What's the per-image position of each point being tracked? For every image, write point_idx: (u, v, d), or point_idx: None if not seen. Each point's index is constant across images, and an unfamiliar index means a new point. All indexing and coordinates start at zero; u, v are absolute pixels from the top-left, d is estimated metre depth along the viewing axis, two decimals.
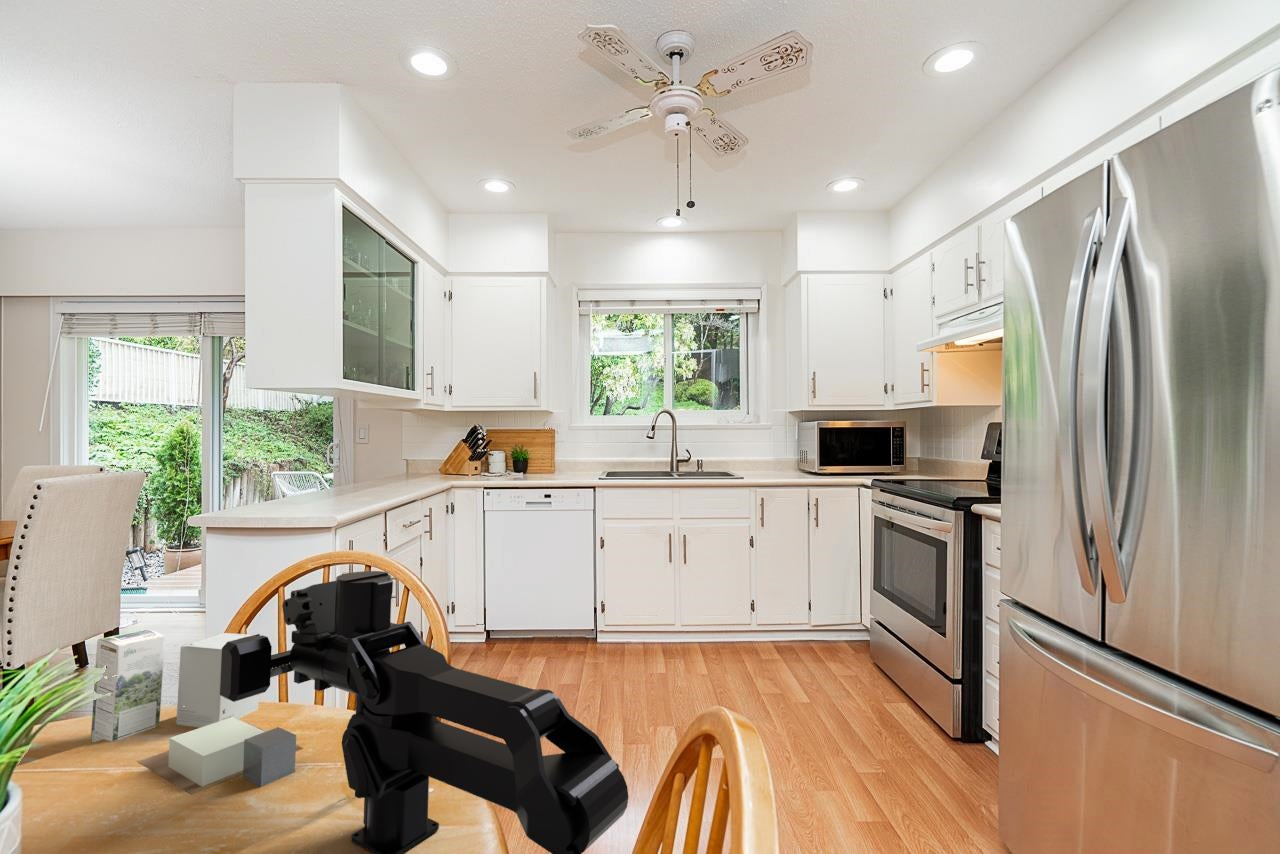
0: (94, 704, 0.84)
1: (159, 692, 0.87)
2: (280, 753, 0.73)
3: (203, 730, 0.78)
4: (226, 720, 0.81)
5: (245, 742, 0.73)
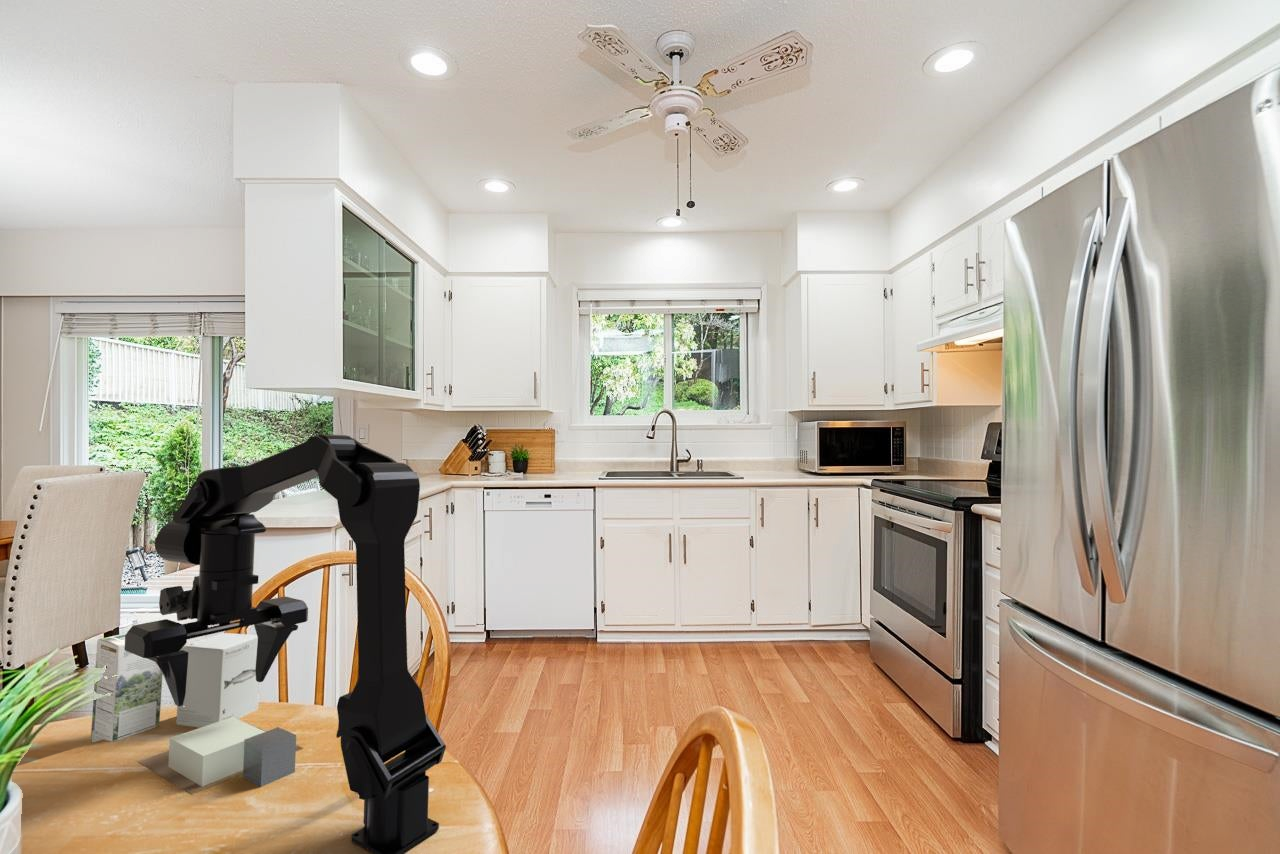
0: (94, 704, 0.84)
1: (159, 692, 0.87)
2: (280, 753, 0.73)
3: (203, 730, 0.78)
4: (226, 720, 0.81)
5: (245, 742, 0.73)
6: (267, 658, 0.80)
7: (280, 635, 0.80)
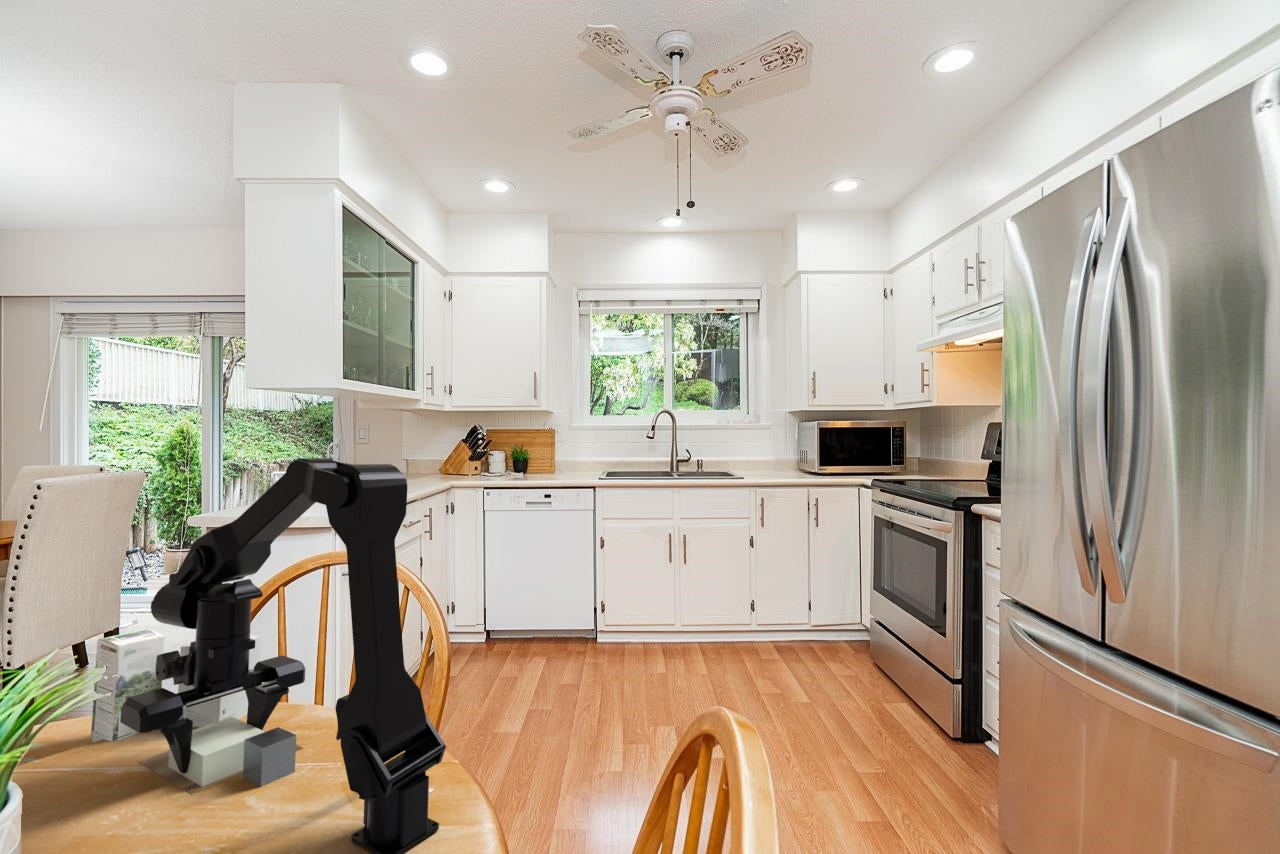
0: (94, 704, 0.84)
1: None
2: (280, 753, 0.73)
3: (203, 730, 0.78)
4: (226, 720, 0.81)
5: (245, 742, 0.73)
6: (257, 724, 0.79)
7: (271, 700, 0.79)
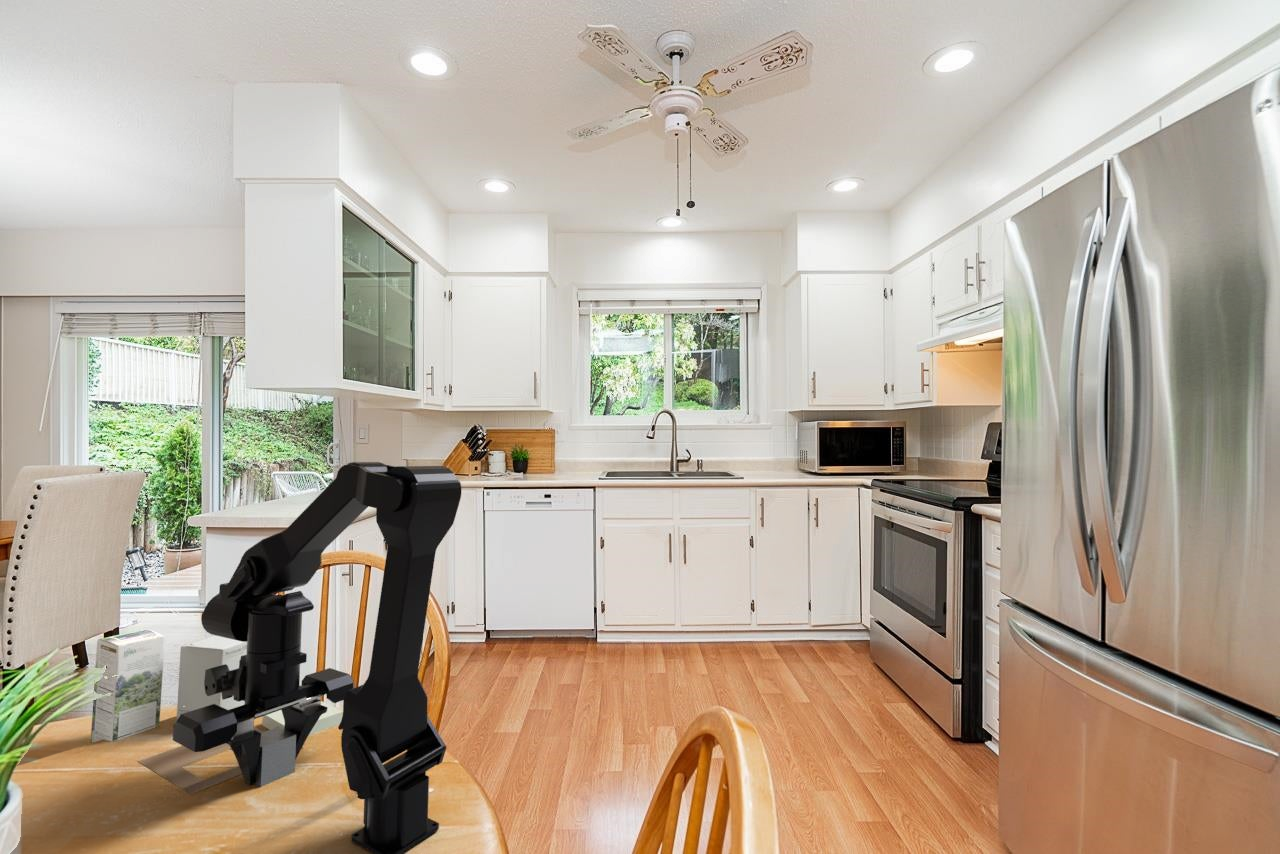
0: (94, 704, 0.84)
1: (159, 692, 0.87)
2: (280, 753, 0.73)
3: None
4: None
5: None
6: None
7: (309, 720, 0.76)
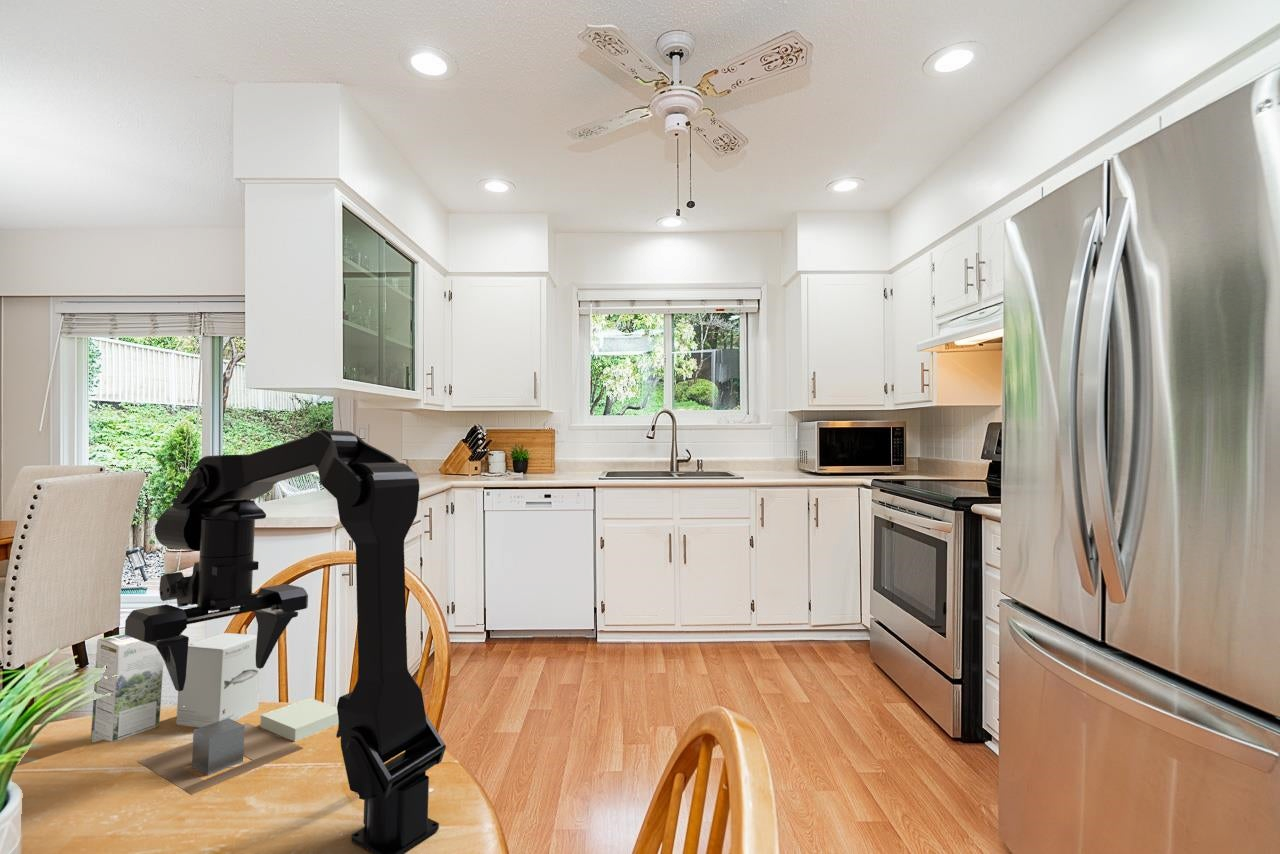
0: (94, 704, 0.84)
1: (159, 692, 0.87)
2: (228, 743, 0.76)
3: (288, 708, 0.89)
4: (305, 700, 0.92)
5: (194, 732, 0.76)
6: (267, 645, 0.80)
7: (281, 621, 0.81)
